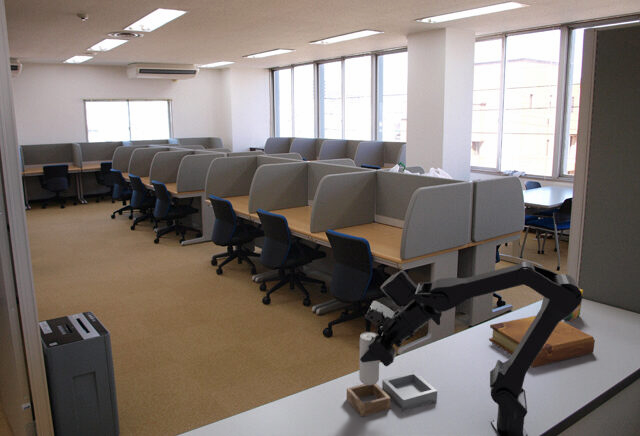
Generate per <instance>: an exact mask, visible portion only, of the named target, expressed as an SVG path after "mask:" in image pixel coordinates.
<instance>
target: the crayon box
mask: <svg viewBox="0 0 640 436" xmlns="http://www.w3.org/2000/svg"><path fill="white" fill-rule="evenodd" d="M579 289H580V291H581V294H582V295H583V293H584V290H583V289H581V288H579ZM582 302H583V300H582V301H581V304H580V305H579V306H578V307H577V308H576V309H575V310H574V311H573V312H572V313H571V315H570V316H568V317H567V318H565V319H564V320H565V321H568V320H569V321H568V322H572V321H573V320H575V319H577V318H578V317H579V315H580V314H581V311H582ZM577 316H578V317H577ZM576 317H577V318H576Z"/></svg>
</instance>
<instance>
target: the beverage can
mask: <svg viewBox="0 0 640 436" xmlns="http://www.w3.org/2000/svg"><path fill="white" fill-rule="evenodd" d="M376 335H378V334H377V333H376V332H373V331H372V332H370V331H366V332H363V333H361V334H360V337H359V368H358V374H359V377H358V378H359V381H360V382H361V383H362V384H365V385H374V384H378V382H379V378H380V360H378V361H370V362H362V361H361V360H360V358H361V357H362V356H363V355H364V353H365V352H366V351H367V350H368V349H369V347H368V345H369V343H370V340H371V338H372V336H373V337H375V336H376Z"/></svg>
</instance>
